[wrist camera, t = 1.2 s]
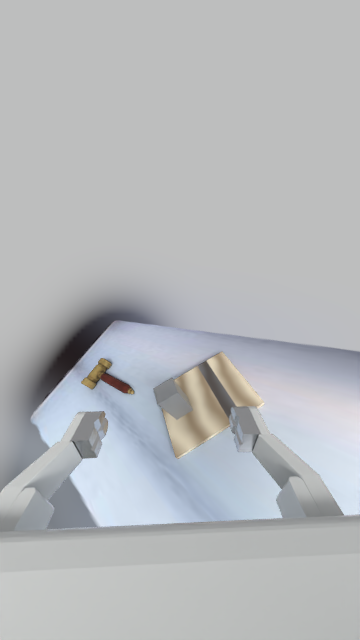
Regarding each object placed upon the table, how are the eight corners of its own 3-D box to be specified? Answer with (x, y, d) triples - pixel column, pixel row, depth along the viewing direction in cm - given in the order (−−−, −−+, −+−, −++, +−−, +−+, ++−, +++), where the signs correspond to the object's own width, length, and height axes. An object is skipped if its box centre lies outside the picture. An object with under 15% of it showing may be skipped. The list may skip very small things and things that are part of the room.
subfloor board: (222, 354, 47) (222, 351, 46) (264, 404, 35) (264, 402, 34) (158, 391, 45) (156, 389, 44) (178, 458, 33) (175, 458, 32)
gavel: (139, 374, 48) (118, 407, 43) (145, 380, 51) (127, 412, 46) (99, 356, 59) (78, 381, 53) (106, 362, 62) (87, 386, 56)
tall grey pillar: (186, 395, 40) (171, 376, 33) (193, 409, 37) (177, 392, 30) (171, 404, 40) (152, 387, 33) (176, 419, 37) (157, 404, 30)
